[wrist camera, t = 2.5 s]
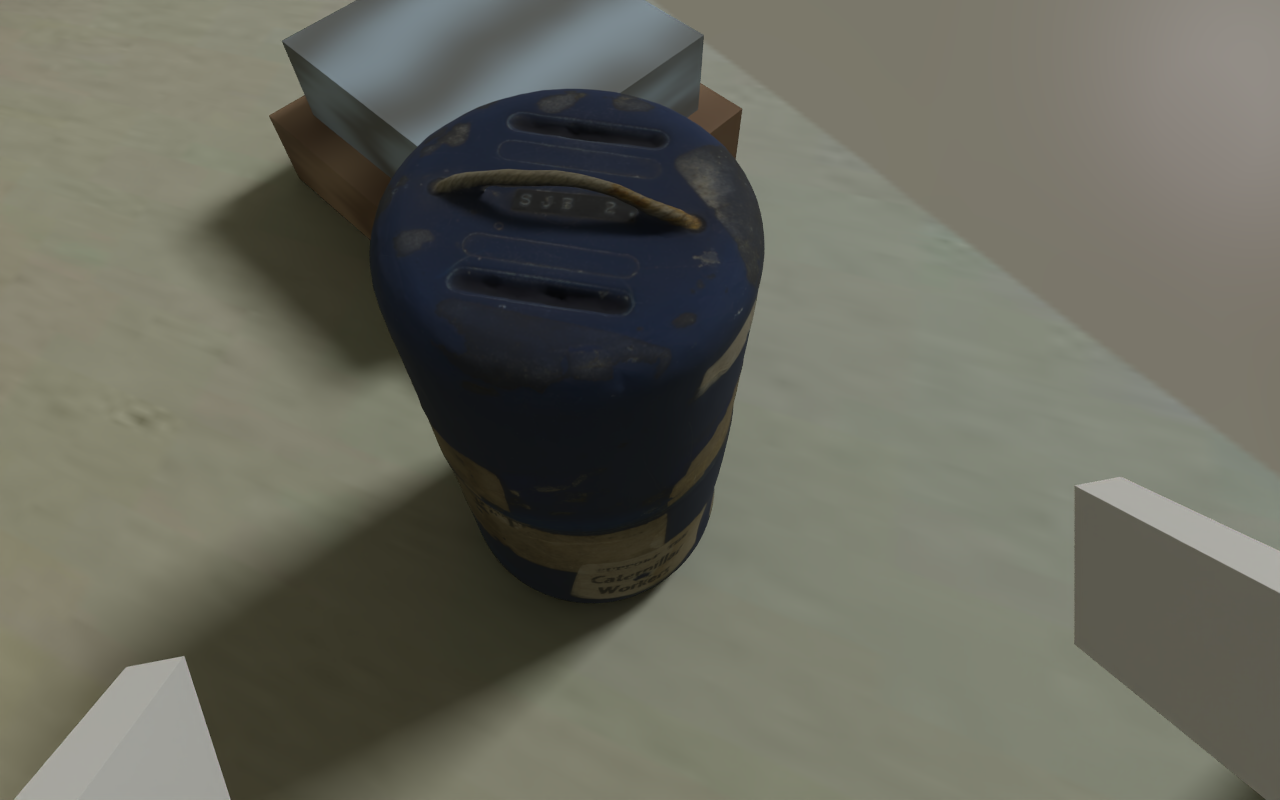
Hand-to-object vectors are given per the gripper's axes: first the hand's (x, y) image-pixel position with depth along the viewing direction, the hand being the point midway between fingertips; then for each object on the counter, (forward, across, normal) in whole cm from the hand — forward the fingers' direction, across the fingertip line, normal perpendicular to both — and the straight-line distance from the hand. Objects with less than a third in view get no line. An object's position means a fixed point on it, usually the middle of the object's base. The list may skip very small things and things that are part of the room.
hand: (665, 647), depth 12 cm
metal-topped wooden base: (+34, -1, +8) cm, 35 cm away
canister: (+21, 0, -6) cm, 21 cm away
